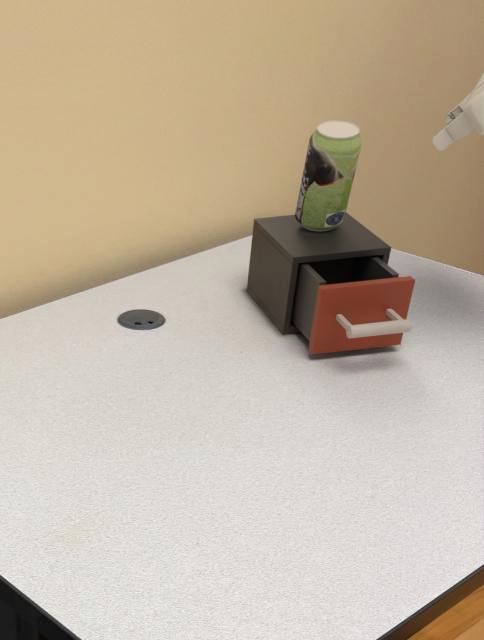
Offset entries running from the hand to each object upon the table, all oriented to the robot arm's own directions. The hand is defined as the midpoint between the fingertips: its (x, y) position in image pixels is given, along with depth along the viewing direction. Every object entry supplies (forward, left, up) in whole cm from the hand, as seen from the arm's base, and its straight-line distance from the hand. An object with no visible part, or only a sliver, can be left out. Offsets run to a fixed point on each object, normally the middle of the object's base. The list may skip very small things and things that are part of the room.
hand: (442, 134), depth 100 cm
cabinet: (+10, -6, -21) cm, 24 cm away
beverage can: (+10, -7, -12) cm, 17 cm away
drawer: (+10, +5, -20) cm, 23 cm away
